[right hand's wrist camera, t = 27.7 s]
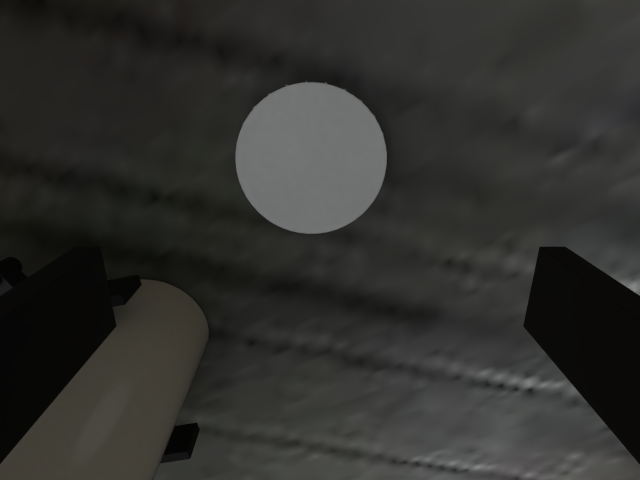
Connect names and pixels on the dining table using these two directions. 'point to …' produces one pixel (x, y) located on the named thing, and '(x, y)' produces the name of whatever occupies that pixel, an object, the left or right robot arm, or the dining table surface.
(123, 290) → the left robot arm
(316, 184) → the lid
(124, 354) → the jar
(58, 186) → the dining table surface
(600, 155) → the dining table surface
